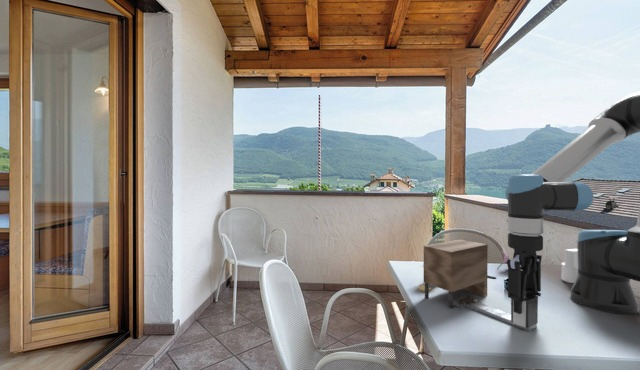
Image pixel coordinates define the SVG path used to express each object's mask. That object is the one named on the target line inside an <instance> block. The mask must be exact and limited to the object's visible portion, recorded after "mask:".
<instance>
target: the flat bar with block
mask: <svg viewBox="0 0 640 370" xmlns="http://www.w3.org/2000/svg"><path fill="white" fill-rule="evenodd" d="M538 300H539V296H535V295H532V294H528V293H526V292H525V296H524V301H526V327H522V326H519V325H517V324H514V323H513V299H512V298H510V305H511V306H510V309H511V310H510V313H508V312H506V311H503V310H501V309H498V308H495V307H492V306H491V305H487V304H485V303H481V302H479V301H478V298H475V297H472V296H469V295H467V296H463V297H460V298H458V299H454V300H453V306H455V307H459V308H460V307H461V309H463V308H465V307H466V308H468V309H471V310H474V311H476V312H479V313H481V314H483V315H486V316H489V317H491V318H494V319H497V320H499V321H502V322H504V323H507V324H510V325H513V326H514V327H517V328H520V329H522V330H525V331H527V332H531V331H533V330H534V329H536V328H537V327H538V325H537V324H538V323H539V322H538V317H539V315H538V312H539V310H538V309H539V308H538V307H539V306H538V305H539V303H538V302H539V301H538Z"/></svg>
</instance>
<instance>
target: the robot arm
mask: <svg viewBox="0 0 640 370" xmlns="http://www.w3.org/2000/svg"><path fill="white" fill-rule="evenodd" d="M638 133H640V91H636V92H634V93H631V94H629V95H627V96H625V97H623V98H622V99H619V100H618V101H616V102H615V103H613V104H612V105H610V106H609V107H607V108H606V109H605V110H604V111H602V112H601V113H599V114H598V115H597V116H595V117H594V118H593V119H592V120H591V121H590V122H589V123H588V127H587V128H586V129H585V130H584V131H583V132H582V133H580V134H579V135H578V136H576V137H575V138H574V139H573V140H572V141H570V142H569V143H568V144H567V145H565V146H564V147H562V149H560V150H559V151H557V153H556V154H554V155H553V156H552V157H550V158H549V159H548V160H547V161H545V162H544V163H543V164H542V165H540V167H538V168H537V169H536V170H535V171H533V172H532V173H531V174H513V175H511V176H509V178H508V182H507V186H506V188H505V190H504V191H505V192H504V193H505V198H506V200H507V214H508V215H507V219H506V222H507V231H509V233H508V234H507V246H508V247H509V248H510V249H513V256H512V260H509V259H510V258H509V259H508V260H507V264H506V265H507V273H508V274H507V297H508V298H509V299H511V298H512V299H513V323H514V324H517V325H519V326H522V327H526V301H524V296H525V293H528V294H532V295H535V296H538V297H542V293H541V290H542V288H541V287H542V286H541V285H542V284H541V283H542V281H541V278H542V275H541V274H542V273H541V272H542V266H541V265H542V255H541V254H538V253H537V252H541V251H543V249H544V237H543V235H542V234H544V212H547V211H558V212H560V211H561V212H562V211H563V212H565V211H566V212H567V211H568V212H569V211H570V212H576V211H585V210H587V209H588V208H589V207H591V205H592V204H593V202H594V191H593V190H592V188H591V187H590V185H588V184H586V183H585V182H579V181H568V180H569V179H570V178H571V177H573V175H575V174H576V173H577V172H579V171H580V170H581V169H582V168H583V167H585V166H586V165H588V164H589V163H590V162H591V161H592V160H594V159H595V158H596V157H597V156H598V155H600V154H601V153H603V151H605V150H606V149H608V147H610V146H611V145H612V144H618V143H620V142H622V141H624V139H626V138H628V137H630V136H632V135H634V134H638ZM637 213H638V214H637V221H636V225H635V226H632V227H630V228H629V229H627V230H624V229H623V230H621V229H582V230H580V231H579V232H578V236H577V237H578V239H577V241H576V243H577V245H576V246H577V249H578V275H577V278H576V280H575V282H574V284H573V283H572V287H571V289H570V299H571V300H572V301H574V302H575V303H577V304H580V305H582V306H584V307H587V308H590V309H594V310H598V311H602V312H607V313H612V314H621V315H635V314H638V313H639V311H640V308H639V306H640V305H639V301H638V299H637V297H636V294H635V293H634V290H633V287H632V284H631V280H633V281H635V282H639V283H640V205H639V206H638V212H637Z"/></svg>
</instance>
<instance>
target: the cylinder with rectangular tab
mask: <svg viewBox="0 0 640 370" xmlns="http://www.w3.org/2000/svg"><path fill="white" fill-rule="evenodd" d="M577 275H578V248H568V249H564V262H561V280H562V281H564V282H566V283H569V284H573V283H574V282H575V280H576V278H577Z"/></svg>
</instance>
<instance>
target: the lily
mask: <svg viewBox="0 0 640 370" xmlns="http://www.w3.org/2000/svg"><path fill="white" fill-rule="evenodd" d="M500 251H501V252H502V254H503V256H504V257H503V262H502V263H500V264H499V266H498V267H497V270H499V269H500V268H501V266H502V265H503V264H506V265H507V260H508V259H509V260H513V258H510V257H508V254H507V252H506V250H505V249H504V248H502V250H500Z"/></svg>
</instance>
